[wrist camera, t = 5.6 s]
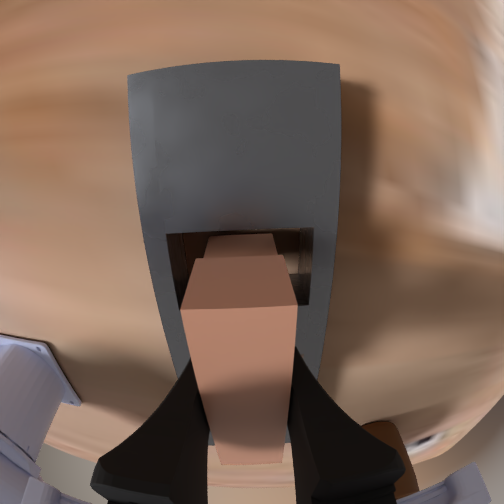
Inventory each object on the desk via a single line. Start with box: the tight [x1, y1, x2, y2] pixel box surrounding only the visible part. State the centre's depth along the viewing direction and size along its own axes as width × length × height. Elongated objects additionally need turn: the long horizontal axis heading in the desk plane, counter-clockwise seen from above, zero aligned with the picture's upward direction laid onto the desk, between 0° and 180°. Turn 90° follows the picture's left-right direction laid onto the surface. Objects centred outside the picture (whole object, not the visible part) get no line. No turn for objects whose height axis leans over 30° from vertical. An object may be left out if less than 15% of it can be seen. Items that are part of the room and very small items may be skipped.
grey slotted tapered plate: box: [128, 60, 341, 445], centre depth 15 cm, size 8×24×3 cm, turn 2°
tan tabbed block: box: [180, 233, 298, 465], centre depth 12 cm, size 3×10×7 cm, turn 2°
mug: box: [361, 421, 419, 500], centre depth 22 cm, size 12×8×9 cm, turn 1°
